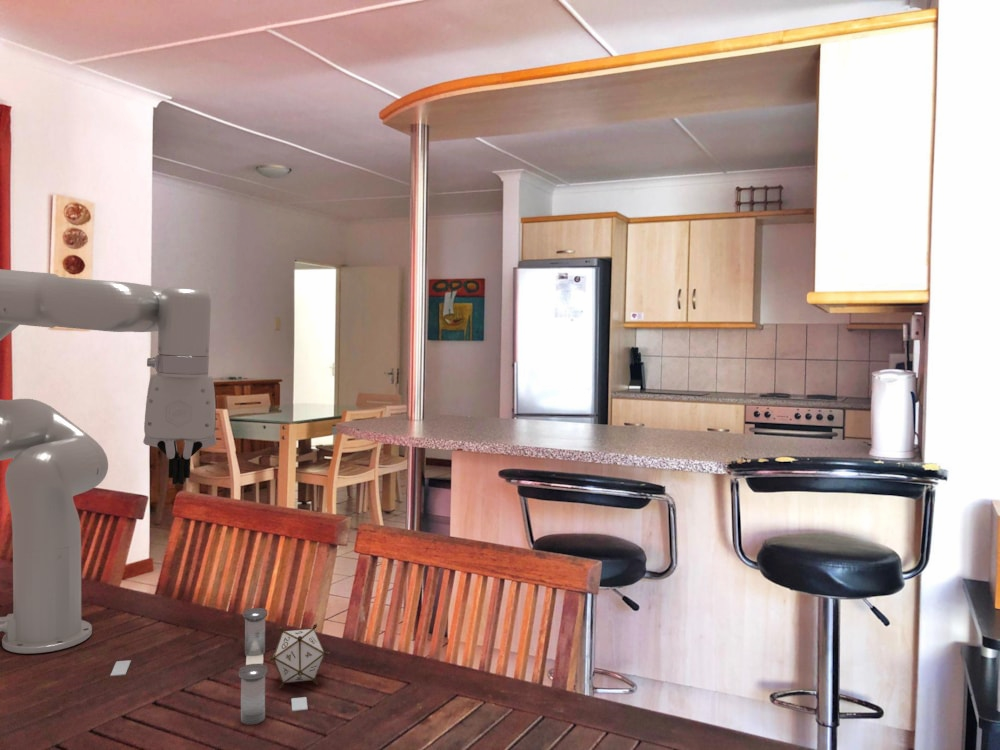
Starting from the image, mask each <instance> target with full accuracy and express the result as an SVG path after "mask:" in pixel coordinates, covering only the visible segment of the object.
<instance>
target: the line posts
mask: <svg viewBox="0 0 1000 750" xmlns="http://www.w3.org/2000/svg"><path fill="white" fill-rule="evenodd" d="M267 616H268V610H267V609H266V608H262V607H254V608H248V609H246V610H243V612H242V617H243V619H244V655H245V656H259V655H262V654H263V656H264V655H265V653H266V617H267ZM268 669H269V667H268V666H267V665H266V664H264V663H263V664H249V665H246V664H245V665H243V666H241V667H240V668H239V669H238V677H239V678H240V722H241V723H242V724H244V725H249V724H250V725H257V724H259V723H262V722H263V721H264V720H265V718H266V676H267V675H268V672H269V671H268ZM250 725H249V726H250Z"/></svg>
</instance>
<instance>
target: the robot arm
mask: <svg viewBox="0 0 1000 750" xmlns="http://www.w3.org/2000/svg"><path fill="white" fill-rule="evenodd" d="M211 300H212V299H211V296H210V294H209V292H208V291H206V290H205V289H201V288H193V287H177V286H176V287H174V286H171V287H165V288H163V287H159V286H154V285H149V284H141V283H135V282H126V281H116V280H115V281H114V280H100V279H91V278H89V279H86V278H79V277H78V278H76V277H75V278H73V277H67V276H65V277H64V276H59V275H58V274H56V273H51V272H40V271H39V272H38V271H37V272H36V271H25V270H24V271H23V270H11V269H1V268H0V342H1V341H2V340H3V339H4V338H6V337H7V336H8V335H9V334H11V333H12V332H13V331H14V330H15V329H17V327H19V326H20V325H22V326H29V327H30V326H31V327H39V328H40V327H41V328H48V329H54V328H56V327H58V328H66V329H67V328H68V329H76V330H77V329H79V330H90V331H100V332H101V331H103V332H112V333H130V332H131V333H151V332H152V333H153V332H157V354H156V355H155V357H150V358H149V357H148V358H147V359H146V366H147V367H151V368H154V370H155V372H156V373H155V374H151V376H150V378H149V383H148V388H147V395H146V403H145V412H144V422H143V425H144V427H143V431H144V438H143V441H142V442H143V444H144V445H146V446H150V447H155V448H158V449H159V450H160V451H161V452H162V453H163V454H164V455H165V456H166V457H167V459H168V479H171V480H172V485H177V484H179V485H184V484H185V482H186V480H187V479H190V476H191V459H192V456H194V455H195V454H196V453H197V452H198V451H199V450H200V449H206V448H211V447H214V446H216V444H217V437H216V432H215V431H216V425H217V424H216V421H217V412H216V408H217V407H216V406H217V405H216V392H215V391H216V390H215V385H214V378H213V376H212V375H209V368H210V367H209V366H210V364H209V363H210V361H209V360H210V336H211V335H210V333H211V309H212V308H211V306H212V301H211ZM177 441H185V444H184V447H183V453H182V454H181V455H180V453H179V452H178V447H177V445H178V444H177ZM9 459H12V460H11V461H10V462H9V464H8V466H7V468H6V471H5V475H4V478H5V479H4V484H5V485H4V486H5V490H6V494H7V500H8V503H9V509H10V515H11V530H12V587H13V588H12V589H13V590H12V591H13V593H12V599H13V600H12V602H13V605H12V606H13V607H12V608H13V610H12V611H13V613H7V615H6V616H0V633H2V632H4V635H3V637H2V639H1V646H2V648H3V649H4V650H6V651H8V652H11V653H16V654H24V655H26V654H27V655H28V654H42V653H43V654H44V653H49V652H56V651H60V650H65V649H69V648H70V647H74V646H77V645H79V644H81V643H83V642H84V641H86V640H87V639H88V638H90V637H91V635H92V634H93V626H92V624H91V623H90V622H89V621H87V620H83V619H82V535H81V534H82V530H81V521H80V520H81V519H80V516H79V513H78V510H77V508H76V505H75V501H74V497H75V496H78V495H80V494H83V493H86V492H88V491H90V490H93V489H94V488H96V487H97V486H99V485H100V484H101V483H102V482H103V481H104V479H105V478H106V476H107V474H108V470H109V460H108V457H107V454H106V452H105V450H104V449H103V447H102V446H101V444H99V442H98V441H96V440H95V438H93V437H91V436H90V435H89V434H88V433H87V432H85V431H84V430H83V429H81V428H80V427H79V426H78V425H77V424H75V423H73V422H72V421H71V420H70V419H68V418H67V417H66V416H65V415H63V414H62V413H60V412H59V411H58V410H56V409H55V408H54V407H52V406H50V405H48V404H47V403H45V402H42V401H40V400H36V399H33V398H32V399H31V398H18V399H17V398H16V399H0V461H5V460H9Z"/></svg>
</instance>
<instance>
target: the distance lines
mask: <svg viewBox="0 0 1000 750" xmlns="http://www.w3.org/2000/svg"><path fill="white" fill-rule="evenodd" d="M245 656H246V655H245ZM245 658H246V659H245V666H246V665H249V664H263V665H264V655H263V654H262V655H259V656H246V657H245ZM131 662H132V660H131V659H130V660H128V659H127V660H119V661H118V660H117V661H115V664H114V666H113V668H112V671H111V673H110V677H116V676H119V677H120V676H126V674H127V672H128V670H129V668H130V664H131ZM290 701H291V712H299V711H305V710H306V711H308V709H309V708H308V699H307V697H306V696H303V697H293V698H291V699H290Z"/></svg>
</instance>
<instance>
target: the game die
mask: <svg viewBox="0 0 1000 750" xmlns="http://www.w3.org/2000/svg"><path fill="white" fill-rule="evenodd" d="M317 627H318V624H317V623H315V624H313V626H312V628H301V629H292V630H290V629H289V630H284V628H283V626H279V629H278V631H280V632H281V634H280V637H279V639H278V641H277V645H276V647H275V649H274V652H273V655H269V656H268V657H267V659H268V660H269V661H273V662H274V665H275V668H276V670H277V672H278V675H279V677H280V680H281V683H280V684H279V689H282V688H283V687H284V686H285V685H284V684H290V683H299V682H300V683H301V682H309V681H313V683H314V684H315V685H317V686H318V684H319V683H318V682H319V681H318V679H316V678H317V676H318V673H319V670H320V667H321V665H322V662H323V661H324V660H323V659H324V658H325V656H328V655H330V654H331V652H330V651H329V650H324V647H323V645H322V643H321V641H320V639H319V637H318V633H316V630H315V629H317Z"/></svg>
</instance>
